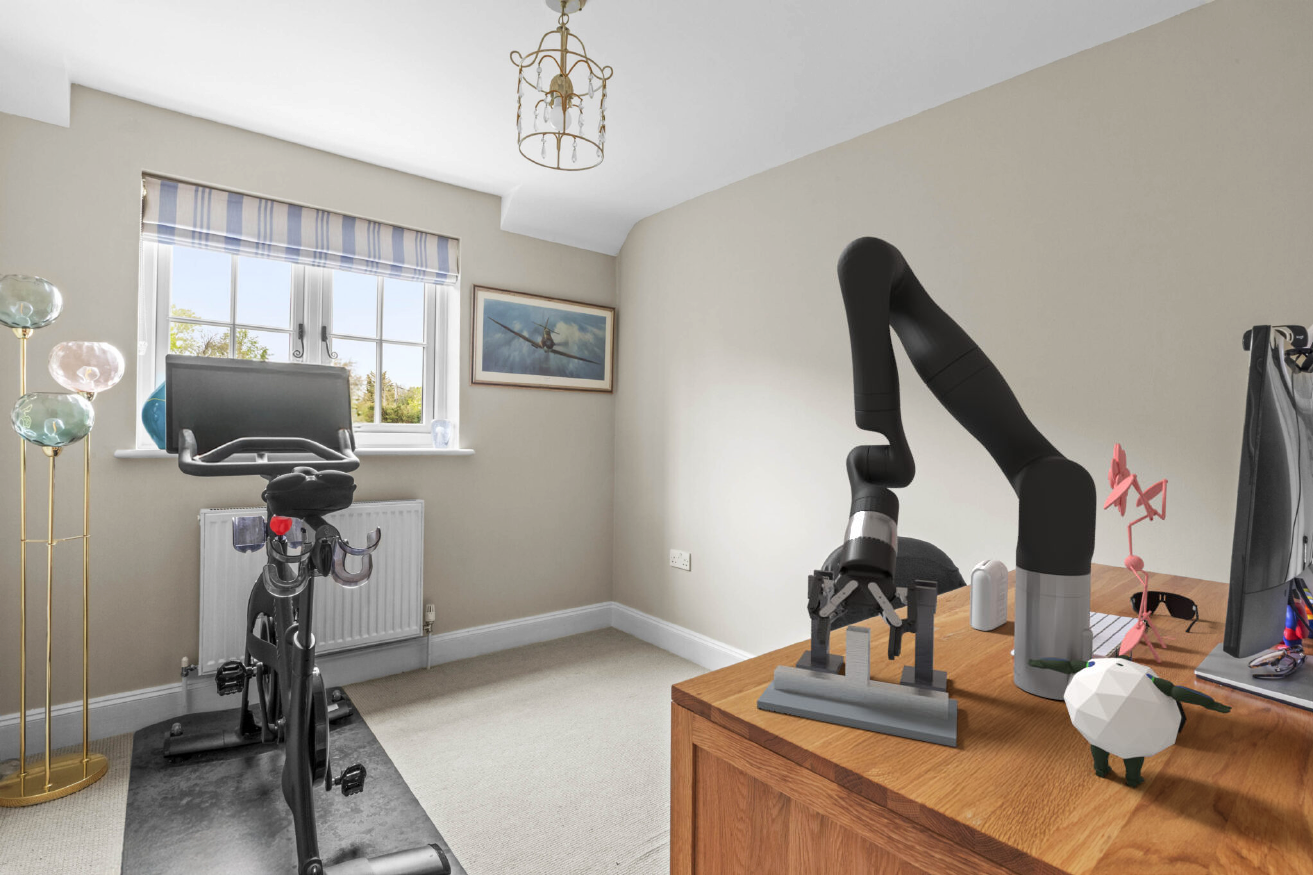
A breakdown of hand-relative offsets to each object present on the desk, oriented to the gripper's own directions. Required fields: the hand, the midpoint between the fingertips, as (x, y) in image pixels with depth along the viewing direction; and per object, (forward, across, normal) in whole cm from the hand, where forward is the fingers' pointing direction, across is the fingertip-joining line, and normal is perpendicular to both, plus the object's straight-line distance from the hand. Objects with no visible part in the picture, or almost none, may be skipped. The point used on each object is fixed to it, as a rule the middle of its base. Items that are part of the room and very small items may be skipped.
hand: (856, 652), depth 86 cm
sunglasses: (-42, +48, +54) cm, 83 cm away
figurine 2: (+8, +28, +3) cm, 29 cm away
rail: (+4, 0, +6) cm, 7 cm away
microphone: (-6, +36, +18) cm, 41 cm away
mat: (+5, 0, +6) cm, 8 cm away
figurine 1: (-27, +36, +38) cm, 59 cm away
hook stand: (-5, 0, +16) cm, 16 cm away
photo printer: (-30, +17, +41) cm, 54 cm away
